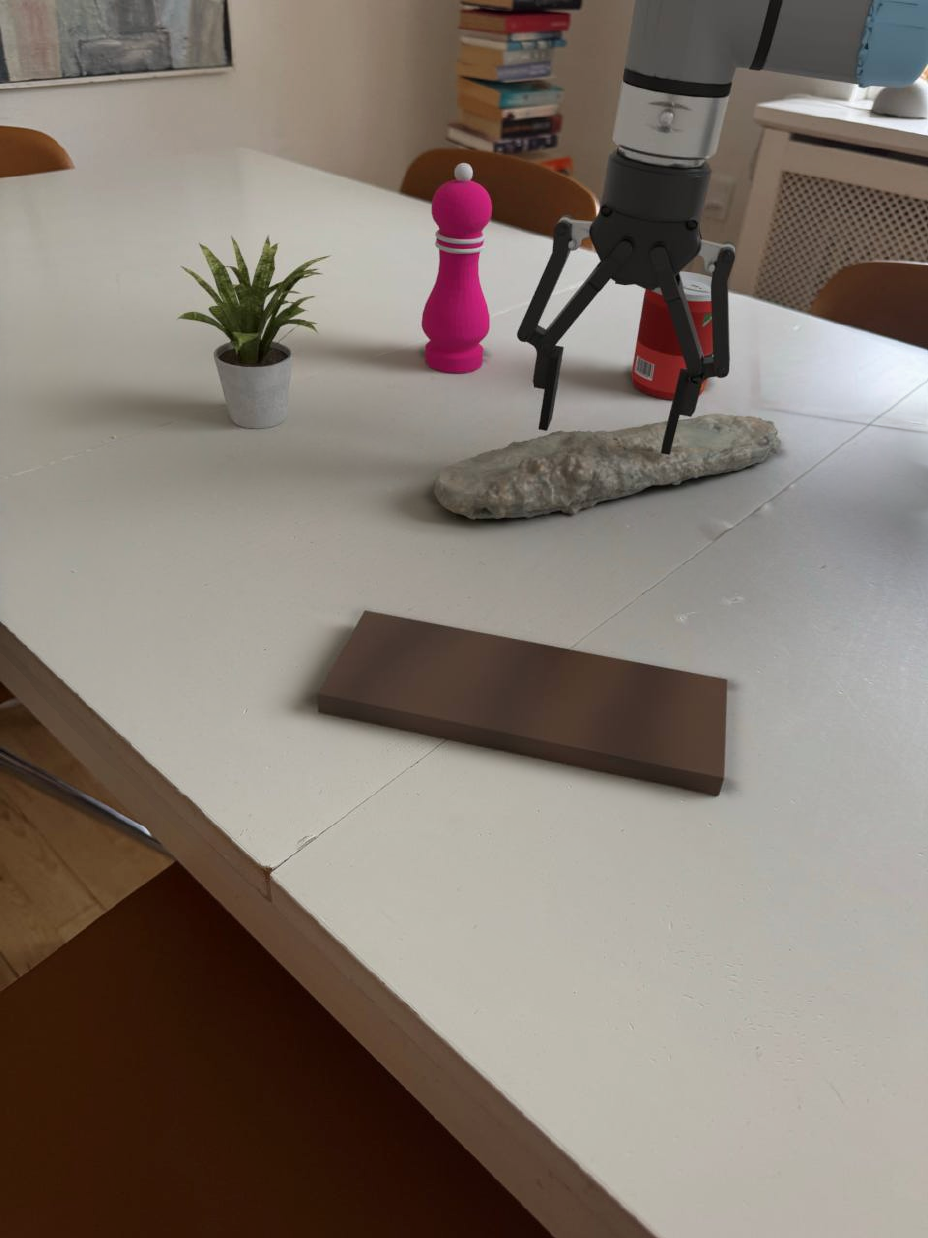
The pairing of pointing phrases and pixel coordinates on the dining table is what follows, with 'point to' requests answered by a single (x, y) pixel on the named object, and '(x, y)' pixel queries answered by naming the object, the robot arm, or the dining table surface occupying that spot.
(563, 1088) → the dining table surface
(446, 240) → the pepper mill
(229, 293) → the house plant
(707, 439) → the elongated rock
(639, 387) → the canned food
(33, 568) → the dining table surface
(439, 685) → the bread board
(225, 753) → the dining table surface
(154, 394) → the dining table surface
